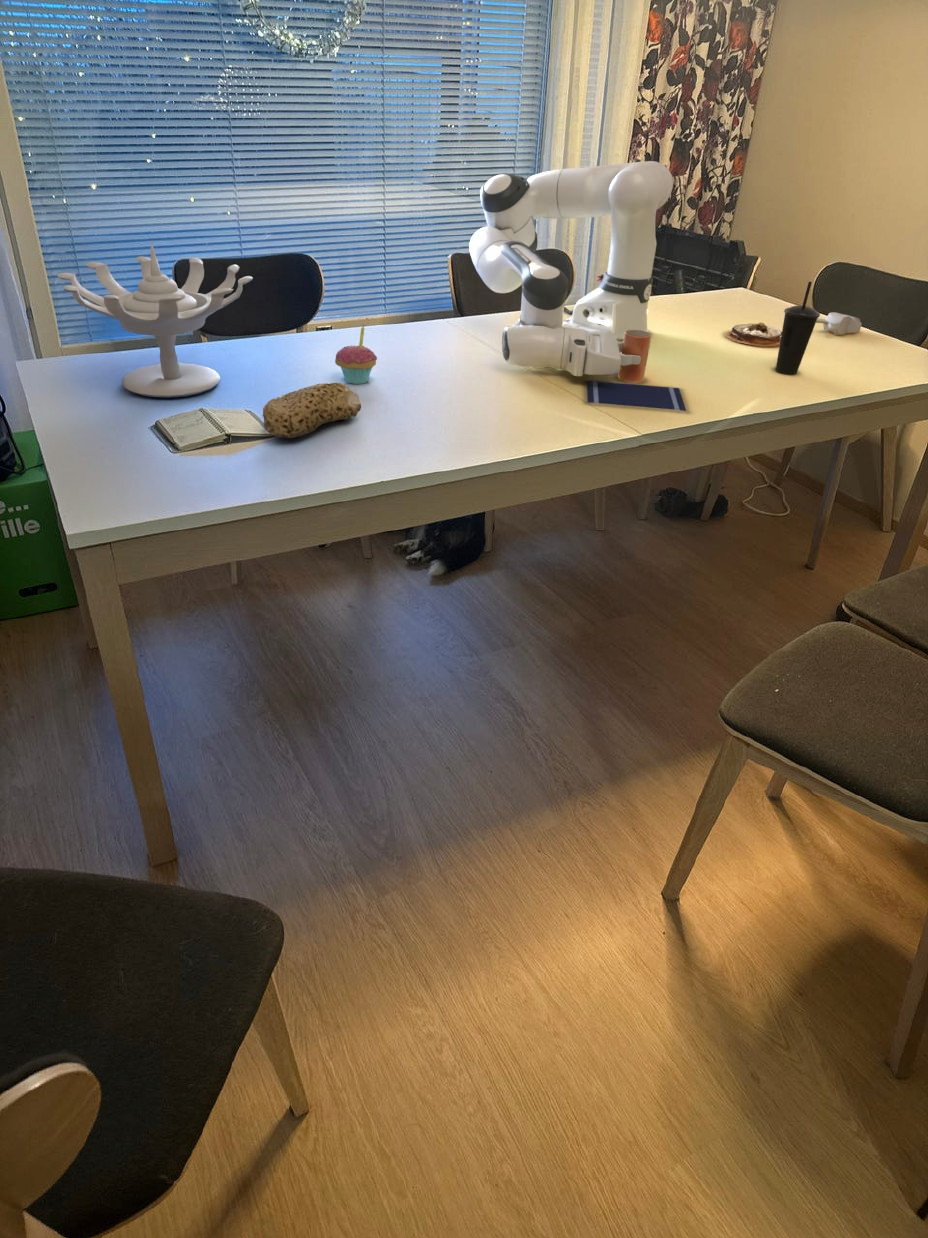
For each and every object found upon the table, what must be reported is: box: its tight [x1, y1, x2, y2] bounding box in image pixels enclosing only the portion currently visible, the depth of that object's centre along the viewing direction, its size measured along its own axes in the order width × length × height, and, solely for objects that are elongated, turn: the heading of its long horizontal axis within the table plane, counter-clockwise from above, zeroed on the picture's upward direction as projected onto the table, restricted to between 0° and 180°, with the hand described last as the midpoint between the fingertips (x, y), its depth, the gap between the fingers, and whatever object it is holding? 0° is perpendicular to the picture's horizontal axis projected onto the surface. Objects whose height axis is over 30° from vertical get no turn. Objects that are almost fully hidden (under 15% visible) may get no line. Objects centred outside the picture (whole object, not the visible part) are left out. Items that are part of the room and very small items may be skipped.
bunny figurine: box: [815, 311, 863, 336], centre depth 226 cm, size 10×5×15 cm
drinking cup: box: [775, 281, 821, 376], centre depth 190 cm, size 8×8×20 cm
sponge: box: [262, 382, 362, 439], centre depth 151 cm, size 13×8×20 cm
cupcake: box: [334, 323, 378, 385], centre depth 172 cm, size 9×8×12 cm
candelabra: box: [56, 241, 253, 399], centre depth 161 cm, size 34×35×27 cm
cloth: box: [586, 380, 687, 412], centre depth 176 cm, size 20×14×1 cm
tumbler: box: [617, 330, 653, 383], centre depth 182 cm, size 6×6×10 cm
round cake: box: [725, 322, 782, 347], centre depth 217 cm, size 15×15×4 cm
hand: (638, 354), depth 182 cm, fingers closed on tumbler, 6 cm apart
